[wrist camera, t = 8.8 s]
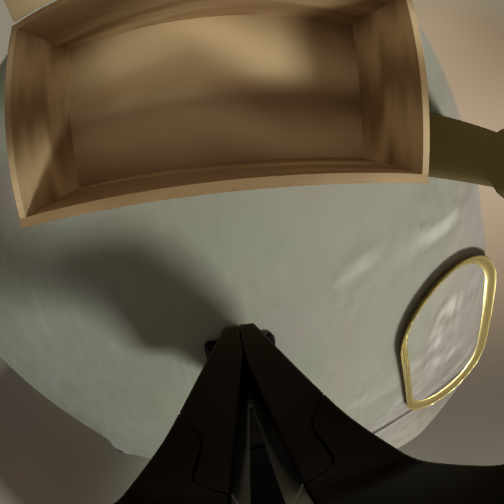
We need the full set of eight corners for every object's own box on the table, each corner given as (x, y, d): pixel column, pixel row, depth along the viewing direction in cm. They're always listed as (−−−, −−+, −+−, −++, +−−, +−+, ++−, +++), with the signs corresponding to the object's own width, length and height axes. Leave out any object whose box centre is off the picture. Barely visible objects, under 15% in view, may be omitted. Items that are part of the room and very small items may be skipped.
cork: (449, 183, 21) (537, 221, 11) (407, 169, 20) (509, 208, 10) (457, 125, 18) (548, 144, 8) (415, 104, 17) (521, 111, 7)
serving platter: (405, 415, 41) (408, 420, 39) (385, 306, 26) (392, 314, 25) (474, 363, 39) (478, 368, 38) (490, 225, 24) (499, 229, 23)
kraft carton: (364, 163, 19) (427, 183, 12) (78, 194, 17) (22, 227, 10) (354, 22, 14) (409, -9, 7) (67, 49, 12) (12, 26, 5)
